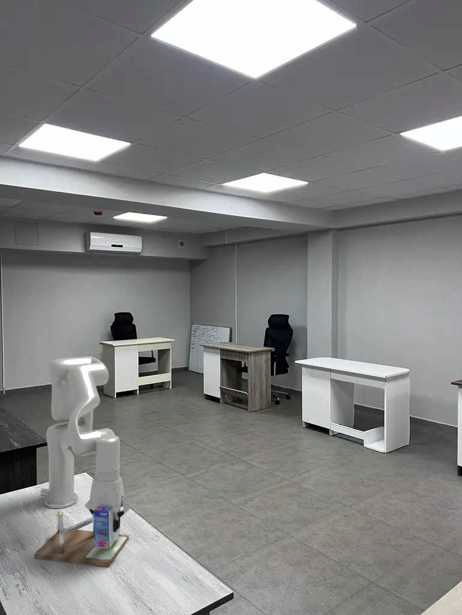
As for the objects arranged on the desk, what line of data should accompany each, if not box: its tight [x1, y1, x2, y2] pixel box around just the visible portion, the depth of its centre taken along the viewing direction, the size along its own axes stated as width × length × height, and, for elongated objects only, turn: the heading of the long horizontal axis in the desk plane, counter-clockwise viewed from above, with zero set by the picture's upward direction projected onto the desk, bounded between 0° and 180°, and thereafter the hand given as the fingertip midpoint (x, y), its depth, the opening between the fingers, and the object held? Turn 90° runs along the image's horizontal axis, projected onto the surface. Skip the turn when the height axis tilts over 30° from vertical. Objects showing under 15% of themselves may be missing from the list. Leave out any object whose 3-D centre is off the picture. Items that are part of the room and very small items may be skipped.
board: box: [34, 527, 130, 568], centre depth 151 cm, size 25×16×2 cm, turn 81°
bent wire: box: [56, 511, 94, 553], centre depth 152 cm, size 15×13×7 cm
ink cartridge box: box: [94, 507, 121, 549], centre depth 149 cm, size 10×6×14 cm, turn 174°
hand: (107, 528), depth 149 cm, fingers closed on ink cartridge box, 5 cm apart
